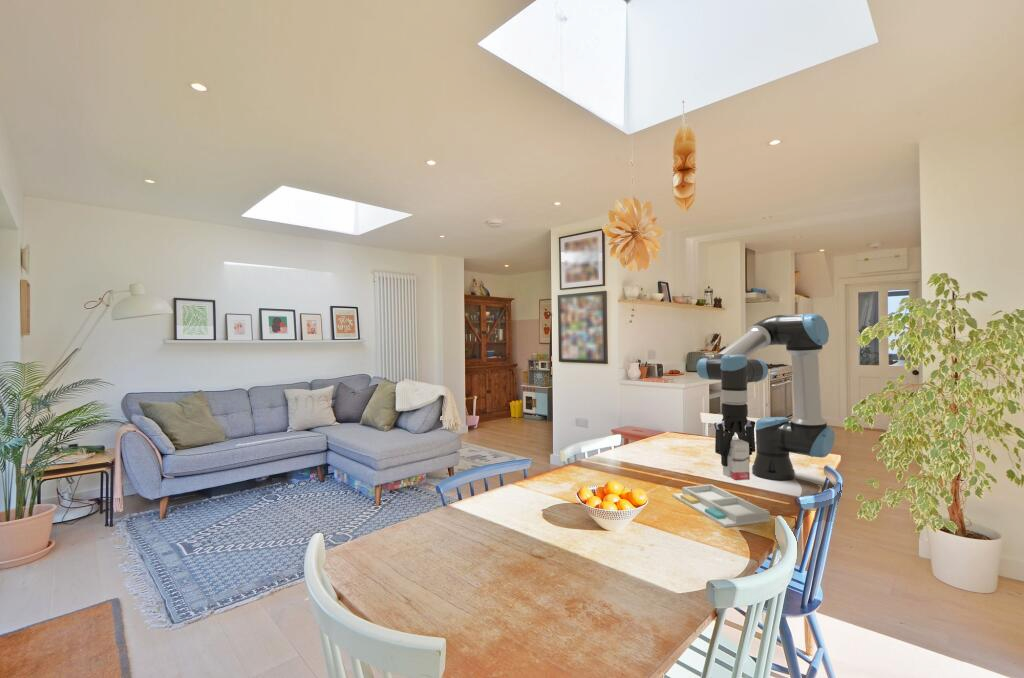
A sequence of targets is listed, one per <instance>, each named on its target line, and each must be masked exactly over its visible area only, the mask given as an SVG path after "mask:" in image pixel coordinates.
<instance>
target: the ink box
mask: <svg viewBox="0 0 1024 678" xmlns="http://www.w3.org/2000/svg"><path fill="white" fill-rule="evenodd" d="M730 442H731V446H730V450H729V455H728V456H730V457H731V477H729V478H731V479H732V480H734V481H748V480H749V481H750V479H751V477H750V463H749V443H748V442H745V441H743V440H741V439H739V438H738V436H737V437H736V436H733V437H732V441H730Z"/></svg>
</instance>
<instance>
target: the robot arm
mask: <svg viewBox="0 0 1024 678" xmlns="http://www.w3.org/2000/svg"><path fill="white" fill-rule="evenodd" d="M829 338H830V331H829V327H828V324H827V322H826V320H825V319H824V317H823V316H822V315H820V314H818V313H799V314H798V313H794V314H778V315H772V316H769V317H766V318H764V319H762V320H759V321H757V322H756V323H754V324H753V325H751V326H750V327H748V328H747V329H746V331H745V334H743V335H742V336H740V337H739V338H738V339H736V340H735V341H733V342H732V343H730V344H729V345H728V346H727V347H725V348H724V349H722V350H721V351H719V352H717V354H715V355H714V356H712V357H711V358H710V357H706V358H704V357H703V358H701V359H699V360H698V361H697V364H696V372H697V375H698V377H699V378H700V379H705V380H708V381H711V380H713V381H715V380H716V381H720V384H721V402H722V404H721V415H722V419H721V421H720V422H714V424H713V425H714V429H715V439H714V441H715V443H714V449H715V450H714V452H715V453H716V454H718V455H719V456H720V457H721V458H720V460H721V462H720V464H721V466H722V473H723V474H722V475H723V476H725V477H727V478H730V477H731V457H730V456H728V455H729V450H730V446H731V442H730V441H732V437H735V433H736V434H737V435H736V436H737V438H739V439H741V440H743V441H745V442H748V443H749V464H750V463H751V461H750V456H752V455H753V453H755V452H756V454H755V458H754V461H753V465H752V467H751V473H752V474H753V475H755V477H758V478H762V479H766V480H767V479H768V480H773V481H789V480H793V479H795V478H796V471H795V469H794V467H793V463H792V461H791V458H790V453H792V454H797V455H802V456H807V457H808V456H809V457H811V458H820V459H821V458H825V457H827V456H828V455H830V453H831V451H832V450H833V447H834V443H835V431H834V429H833V428H832V427H830V426H828V424H827V422H828V421H827V420H826V419H825V418H824V417H822V401H821V399H822V397H821V383H820V382H821V380H820V366H819V364H820V363H819V353H820V352H821V351H823V349H824V348H823V346H824V345H826V344H827V343H828V342H829ZM775 345H776V346H777V345H781V346H785V347H786V348H785V349H786V351H787V352H788V353H789V354H790V355H791V357H790V359H791V372H792V373H791V374H792V388H793V389H792V390H793V405H794V406H793V407H794V409H793V410H794V416H793V417H792V418H791V419H789V418H788V417H785V416H770V417H762V418H758V419H757V420H756V421H754V420H749V419H748V418H747V416H748V415H749V414H748V413H749V411H748V404H747V403H748V401H749V400H748V383H758V382H761V381H763V380H765V379H766V378H767V376H768V374H769V367H768V364H767V363H766V362H765V361H763V360H762V359H759V358H750V357H751V356H753V354H756V352H758V351H759V350H761V349H765V348H767V347H768V346H775ZM748 358H750V359H748ZM755 440H756V441H755Z"/></svg>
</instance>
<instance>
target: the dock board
mask: <svg viewBox="0 0 1024 678" xmlns="http://www.w3.org/2000/svg"><path fill="white" fill-rule="evenodd" d="M672 498H675V499H676V500H678V501H680V502H681V503H683V504H685V505H686V506H688V507H690V508H691V509H694V510H695V511H697V512H698V513H700V514H702V515H703V516H705V517H706V518H708V519H711V520H712V521H714V522H715V523H717V524H719V525H720V526H722V527H724V528H730V527H736V526H737V527H738V526H743V525H745V526H746V525H751V524H757V523H766V522H770V521H771V512H770V511H769V510H767V509H765V508H762V507H760V506H758V505H756V504H754V503H751V502H750V501H747V500H745V499H743V498H741V497H739V496H737V495H735V494H733V493H731V492H728V491H726V490H725V489H722V488H720V487H718V486H716V485H714V484H712V483H708V484H699V485H693V486H682V487H681V492H680V493H672Z"/></svg>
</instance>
